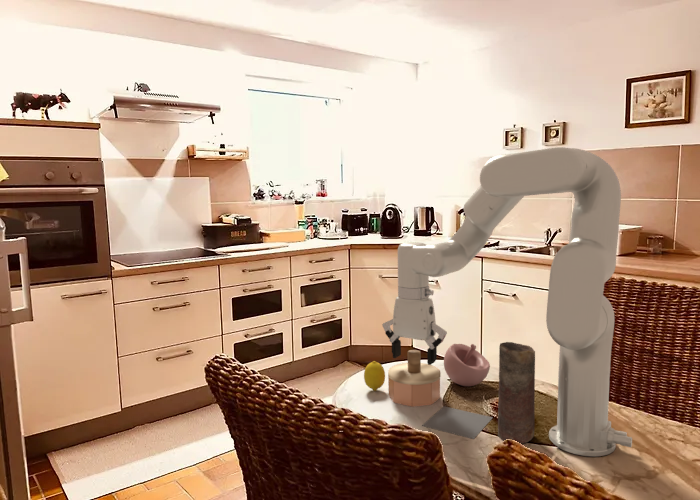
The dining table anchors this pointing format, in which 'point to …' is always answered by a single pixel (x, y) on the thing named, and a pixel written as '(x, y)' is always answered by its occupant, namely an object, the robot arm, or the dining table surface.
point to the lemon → (374, 375)
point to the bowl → (414, 393)
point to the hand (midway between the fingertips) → (413, 359)
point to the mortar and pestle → (465, 365)
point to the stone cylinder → (516, 392)
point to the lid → (414, 371)
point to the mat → (458, 422)
